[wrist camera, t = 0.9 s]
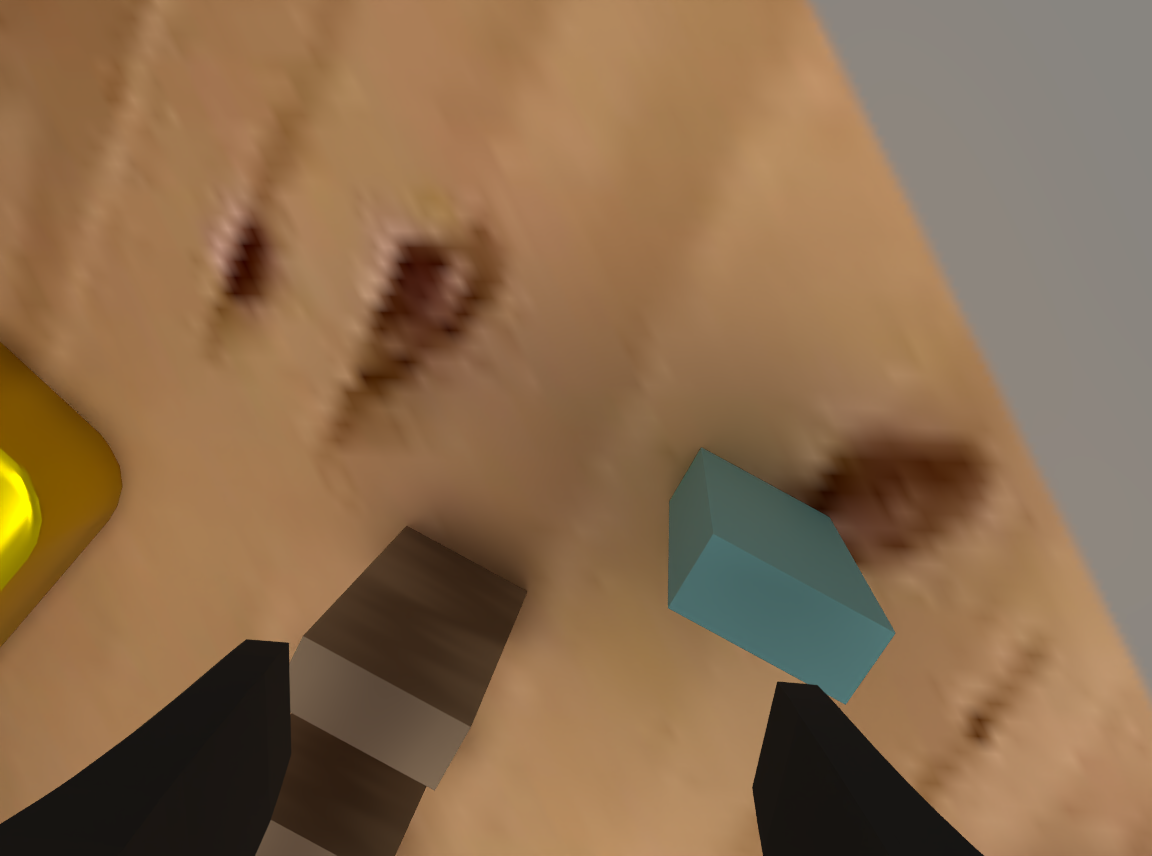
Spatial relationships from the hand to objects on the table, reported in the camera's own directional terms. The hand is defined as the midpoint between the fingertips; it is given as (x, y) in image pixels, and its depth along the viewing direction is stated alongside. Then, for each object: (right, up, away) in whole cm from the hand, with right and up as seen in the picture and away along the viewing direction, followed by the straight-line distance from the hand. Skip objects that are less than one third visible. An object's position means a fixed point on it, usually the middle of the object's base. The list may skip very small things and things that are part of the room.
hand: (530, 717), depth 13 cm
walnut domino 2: (-6, -5, +17) cm, 18 cm away
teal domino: (+6, +2, +14) cm, 15 cm away
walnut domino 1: (-3, -1, +16) cm, 16 cm away
